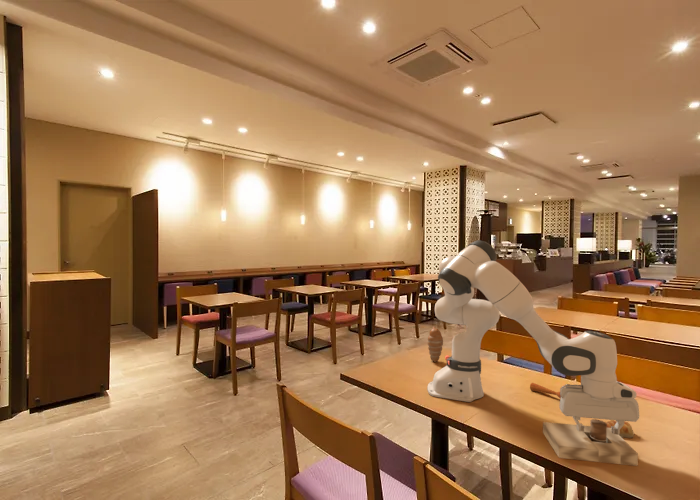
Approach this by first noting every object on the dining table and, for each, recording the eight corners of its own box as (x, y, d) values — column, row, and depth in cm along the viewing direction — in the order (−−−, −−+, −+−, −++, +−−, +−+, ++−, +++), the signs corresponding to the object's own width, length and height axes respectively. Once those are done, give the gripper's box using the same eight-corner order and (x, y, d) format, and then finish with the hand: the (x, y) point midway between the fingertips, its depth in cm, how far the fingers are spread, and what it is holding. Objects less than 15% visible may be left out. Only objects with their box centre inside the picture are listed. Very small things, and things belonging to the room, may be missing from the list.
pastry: (603, 436, 116) (603, 425, 115) (593, 426, 122) (593, 415, 122) (636, 439, 114) (636, 427, 114) (623, 428, 121) (624, 417, 121)
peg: (592, 451, 107) (593, 424, 107) (587, 444, 111) (588, 418, 111) (608, 453, 106) (609, 426, 106) (603, 446, 110) (603, 420, 110)
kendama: (537, 379, 153) (587, 392, 136) (536, 394, 153) (586, 409, 135) (528, 379, 151) (578, 392, 133) (527, 394, 150) (577, 409, 132)
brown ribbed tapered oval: (446, 363, 184) (446, 328, 184) (431, 365, 183) (431, 329, 182) (437, 358, 193) (437, 324, 193) (424, 359, 191) (424, 325, 191)
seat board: (558, 457, 104) (559, 445, 104) (542, 432, 118) (542, 421, 118) (637, 465, 100) (637, 453, 100) (611, 438, 114) (611, 428, 114)
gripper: (564, 387, 107) (563, 433, 107) (642, 393, 103) (642, 441, 103) (556, 379, 113) (555, 423, 113) (630, 384, 109) (629, 429, 109)
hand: (597, 432), depth 108 cm, fingers open, 8 cm apart
